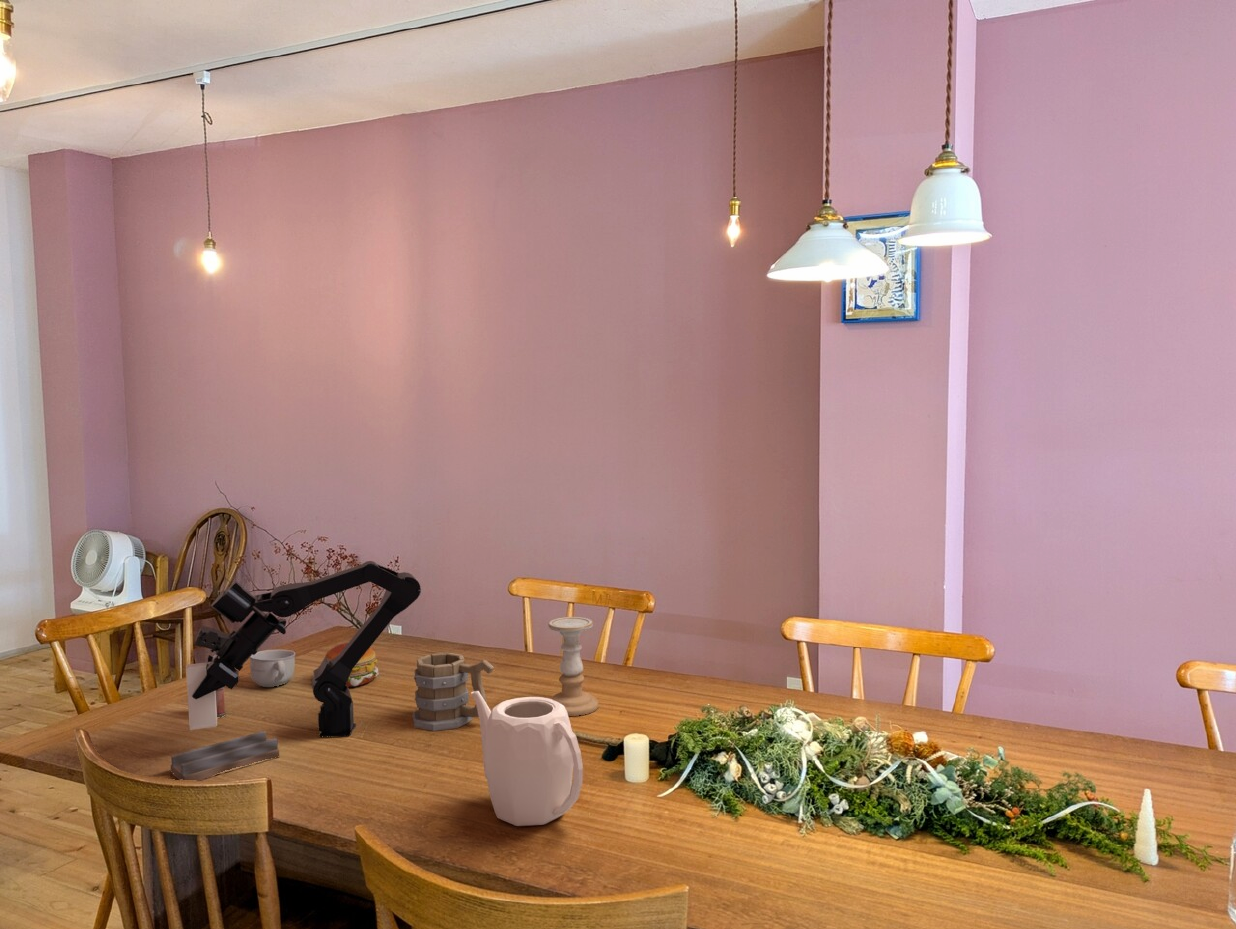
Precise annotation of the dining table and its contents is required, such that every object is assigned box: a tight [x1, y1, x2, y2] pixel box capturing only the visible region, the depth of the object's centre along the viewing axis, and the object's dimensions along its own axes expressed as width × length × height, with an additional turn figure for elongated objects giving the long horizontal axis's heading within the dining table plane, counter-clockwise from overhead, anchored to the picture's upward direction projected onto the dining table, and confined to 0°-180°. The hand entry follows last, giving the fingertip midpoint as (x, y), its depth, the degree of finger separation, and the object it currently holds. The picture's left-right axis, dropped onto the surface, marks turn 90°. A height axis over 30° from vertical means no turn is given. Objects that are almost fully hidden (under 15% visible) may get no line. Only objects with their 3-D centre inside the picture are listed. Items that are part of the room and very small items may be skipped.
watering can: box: [470, 690, 584, 827], centre depth 154 cm, size 16×27×19 cm, turn 50°
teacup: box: [249, 649, 296, 688], centre depth 224 cm, size 14×11×8 cm
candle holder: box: [547, 616, 600, 717], centre depth 205 cm, size 12×12×20 cm
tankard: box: [412, 652, 495, 732], centre depth 197 cm, size 20×13×15 cm, turn 62°
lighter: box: [216, 687, 227, 717], centre depth 204 cm, size 8×3×10 cm, turn 62°
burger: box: [324, 642, 379, 688], centre depth 227 cm, size 14×14×10 cm
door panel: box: [185, 661, 218, 731], centre depth 182 cm, size 5×2×13 cm, turn 111°
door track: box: [170, 730, 280, 781], centre depth 176 cm, size 18×8×4 cm, turn 134°
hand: (194, 695), depth 181 cm, fingers closed on door panel, 2 cm apart
